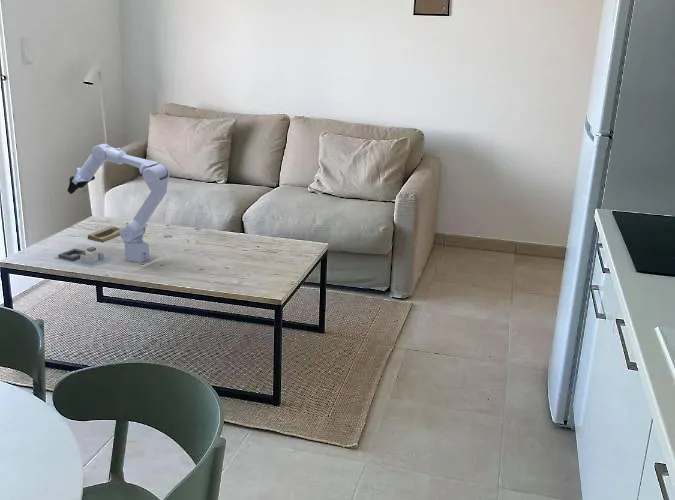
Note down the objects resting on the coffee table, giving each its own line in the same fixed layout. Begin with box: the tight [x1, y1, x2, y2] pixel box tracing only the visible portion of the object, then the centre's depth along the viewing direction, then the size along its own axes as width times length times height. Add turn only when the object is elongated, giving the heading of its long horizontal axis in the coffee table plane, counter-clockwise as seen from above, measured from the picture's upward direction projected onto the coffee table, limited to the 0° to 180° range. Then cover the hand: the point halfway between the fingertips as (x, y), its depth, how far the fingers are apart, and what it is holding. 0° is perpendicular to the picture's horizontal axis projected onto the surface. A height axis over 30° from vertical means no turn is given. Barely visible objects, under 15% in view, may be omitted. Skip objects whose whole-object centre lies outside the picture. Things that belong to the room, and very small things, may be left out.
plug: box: [84, 246, 99, 262], centre depth 294 cm, size 3×4×6 cm
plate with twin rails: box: [80, 251, 105, 265], centre depth 295 cm, size 6×7×3 cm
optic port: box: [57, 248, 86, 261], centre depth 299 cm, size 8×9×2 cm
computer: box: [87, 225, 122, 243], centre depth 329 cm, size 16×8×3 cm, turn 157°
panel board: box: [53, 254, 113, 269], centre depth 297 cm, size 21×12×1 cm, turn 64°
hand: (74, 189), depth 300 cm, fingers open, 7 cm apart
